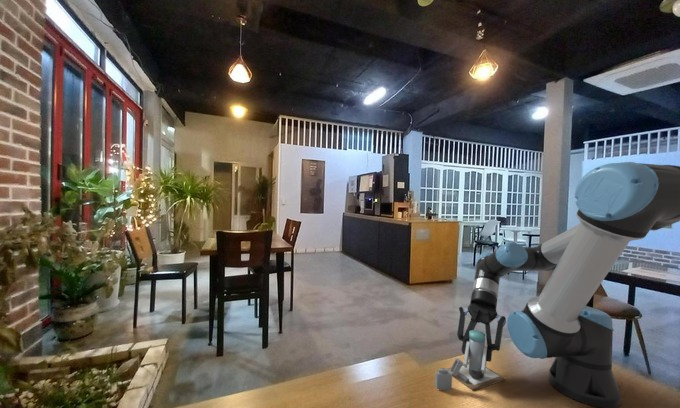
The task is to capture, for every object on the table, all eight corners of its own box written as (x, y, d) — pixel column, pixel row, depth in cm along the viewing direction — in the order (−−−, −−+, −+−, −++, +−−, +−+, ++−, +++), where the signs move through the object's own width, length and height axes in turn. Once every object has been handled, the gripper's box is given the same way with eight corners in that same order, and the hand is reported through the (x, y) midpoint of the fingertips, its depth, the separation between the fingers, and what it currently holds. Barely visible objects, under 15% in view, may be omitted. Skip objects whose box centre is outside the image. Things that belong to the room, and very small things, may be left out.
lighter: (436, 390, 77) (437, 360, 77) (434, 386, 78) (435, 357, 78) (462, 390, 77) (463, 361, 77) (459, 386, 79) (460, 357, 79)
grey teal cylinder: (487, 376, 81) (488, 335, 81) (477, 380, 79) (478, 337, 79) (475, 368, 85) (476, 329, 85) (465, 372, 83) (466, 331, 83)
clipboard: (504, 379, 82) (504, 374, 82) (472, 391, 77) (473, 385, 77) (475, 362, 91) (475, 357, 91) (445, 371, 86) (445, 365, 86)
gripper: (515, 307, 90) (509, 385, 76) (458, 296, 100) (445, 363, 86) (514, 294, 86) (508, 374, 72) (455, 284, 95) (440, 353, 82)
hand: (474, 368), depth 79 cm, fingers closed on grey teal cylinder, 4 cm apart
